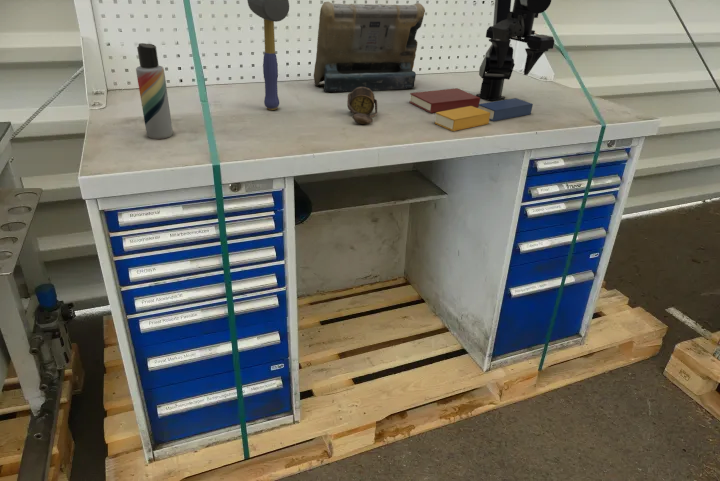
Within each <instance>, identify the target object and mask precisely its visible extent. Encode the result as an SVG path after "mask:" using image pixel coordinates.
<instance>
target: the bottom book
mask: <svg viewBox="0 0 720 481" xmlns="http://www.w3.org/2000/svg"><path fill="white" fill-rule="evenodd" d="M409 95H410V98H409V99H410V100H409V104H412V106H415V107H417V108H419V109H421V110H423V111H426V112H427V113H429V114H436V112H441V111H446V110H451V109H457V108H462V107H468V106H473V107H476V108H479V105H478V104H481V97H478V96H476V95H474V94H472V93H470V92H468V91H464V90H463V89H460V88H458V87H457V88H447V89H446V88H445V89H436V90H427V91H417V92H416V91H415V92H410V93H409Z"/></svg>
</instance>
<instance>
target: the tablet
mask: <svg viewBox="0 0 720 481" xmlns="http://www.w3.org/2000/svg"><path fill="white" fill-rule="evenodd" d="M425 14H426V9H425V6H424V5H423V4H422V3H419V2H417V3H413V4H383V3H382V4H381V3H378V4H374V3H373V4H369V3H368V4H367V3H365V4H364V3H349V4H347V3H332V2H330V1H323V3H322V5H321V7H320V10H319V17H318V20H319V21H318V29H317V42H316V56H315V62H314V68H313V69H314V71H313V80H314V85H315V86H319V85H320V83H322V82H324V84H323V92H324V93H331V92H332V93H333V92H352V91H353V90H354V89H356V88H358V87H367V88H369V89H371V91H372V92H373V91H392V90H407V89H415V88H416V87H415V83H416V76H417V73H416V71H414V70H413V69H414V66H415V60H416V55H417V54H416V53H417V51H418V50H417V49H418V40H417V39H416V36H417V33H418V30H419V29H420V28H421V27H422V24H423V21H424V16H425Z"/></svg>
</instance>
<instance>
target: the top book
mask: <svg viewBox="0 0 720 481" xmlns="http://www.w3.org/2000/svg"><path fill="white" fill-rule="evenodd" d="M478 108H479V107H478ZM478 108H476V107H473V106H468V107H462V108H457V109H451V110H446V111H441V112H436V113H435V121H434V125H437V126H440V127H441V128H444V129H446V130H448V131H451V132H456V131H461V130H466V129H472V128H476V127H481V126H485V125H489V123H490V120H489V117H490V113H489V112H487V111H484V110H481V109H478Z"/></svg>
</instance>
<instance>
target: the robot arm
mask: <svg viewBox="0 0 720 481" xmlns="http://www.w3.org/2000/svg"><path fill="white" fill-rule="evenodd" d="M551 3H552V0H514V1H513V7H512V0H494V8H493V23H492V25H490V26H488V27H487V29H486V33H485V38H488V42H490V43H491V45H489V48H488V49H487V50H486V52H485V55H484V57H483V59H482V62H481V64H480V66H479V70H478V76H479V77H480V78H481V79H482V82H481V85H480V91H479V93H476V95H475V96H477V97H479V98H480V99H481V98H482V99H484V100H487V101H490V102H495V101H501V100H506V96H503V95H502V94H503V89H504V84H505V80H508V81H509V80H511V77H512V74H513V70H514V67H515V59H514V48H513V46H511V42H512V41H517V42H521V43H525V44H526V46H527V47H526V48H524V50H525V53H526V57H525V58H526V59H525V63H524V69H523V75H524V76H528V75H529V73H531V71H532V69H533V68H534V66H535V65H536V64H537V62H538V61H539V59H540V58H541V57H542V56H543V54H544V53H545V52H549V50H553V49H554V46H555V39H554V37H553V36H551V35H546V34H535V33H536V30H534V29H533V27H534V21H535V19H538V18H539V14H541V13H544V12H545V11H546V10H548V9H549V7H550V5H551ZM511 8H512V10H511Z"/></svg>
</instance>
